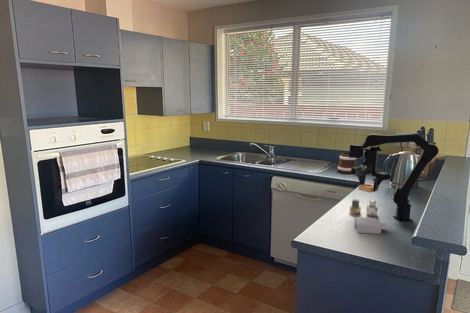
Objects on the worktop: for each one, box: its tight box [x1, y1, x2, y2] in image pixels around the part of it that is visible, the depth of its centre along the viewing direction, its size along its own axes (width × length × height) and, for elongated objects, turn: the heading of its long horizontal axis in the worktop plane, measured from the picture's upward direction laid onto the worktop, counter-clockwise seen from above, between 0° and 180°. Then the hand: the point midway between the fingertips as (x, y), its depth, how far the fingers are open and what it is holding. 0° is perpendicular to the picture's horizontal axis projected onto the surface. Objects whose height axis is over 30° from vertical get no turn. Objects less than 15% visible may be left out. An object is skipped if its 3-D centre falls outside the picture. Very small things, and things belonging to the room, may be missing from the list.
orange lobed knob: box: [365, 199, 379, 218], centre depth 169 cm, size 5×5×7 cm
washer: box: [358, 182, 380, 194], centre depth 168 cm, size 7×7×2 cm
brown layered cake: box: [337, 152, 358, 175], centre depth 269 cm, size 20×15×15 cm
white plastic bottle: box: [353, 216, 393, 235], centre depth 150 cm, size 5×9×15 cm
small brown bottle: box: [349, 198, 362, 216], centre depth 172 cm, size 5×5×7 cm
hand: (368, 190), depth 169 cm, fingers closed on washer, 7 cm apart
